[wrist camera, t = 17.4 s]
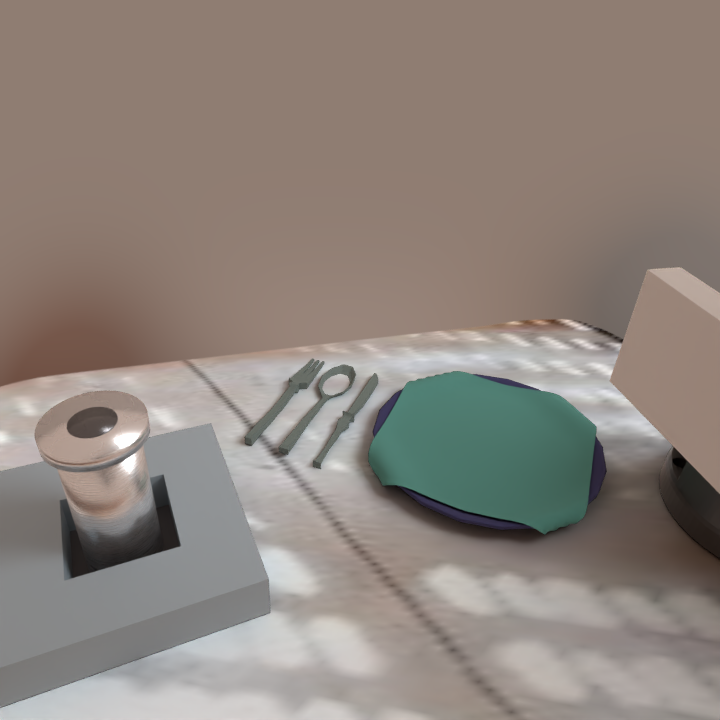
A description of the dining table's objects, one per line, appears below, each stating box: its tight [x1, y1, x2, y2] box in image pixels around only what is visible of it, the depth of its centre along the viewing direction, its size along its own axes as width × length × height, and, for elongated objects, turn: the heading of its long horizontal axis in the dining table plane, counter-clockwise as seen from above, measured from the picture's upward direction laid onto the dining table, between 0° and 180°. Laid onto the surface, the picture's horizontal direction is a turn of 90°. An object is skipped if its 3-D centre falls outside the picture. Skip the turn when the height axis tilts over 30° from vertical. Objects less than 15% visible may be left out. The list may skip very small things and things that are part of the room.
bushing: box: [35, 391, 164, 573], centre depth 40 cm, size 6×6×12 cm
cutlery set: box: [245, 359, 607, 534], centre depth 55 cm, size 20×30×2 cm, turn 68°
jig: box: [0, 423, 270, 708], centre depth 42 cm, size 16×16×4 cm
